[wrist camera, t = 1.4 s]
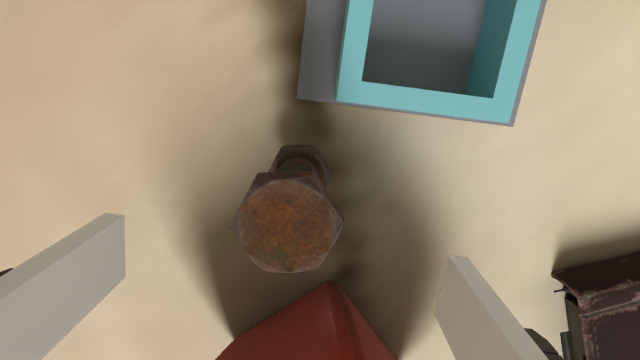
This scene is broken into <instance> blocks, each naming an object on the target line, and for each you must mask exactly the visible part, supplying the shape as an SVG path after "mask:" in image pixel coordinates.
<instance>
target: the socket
mask: <svg viewBox="0 0 640 360" xmlns="http://www.w3.org/2000/svg"><path fill="white" fill-rule="evenodd" d="M546 1H547V0H307V4H306V13H305V22H304V32H303V41H302V50H301V60H300V69H299V78H298V88H297V97H296V99H302V100H310V101H318V102H325V103H333V104H341V105H348V106H356V107H364V108H372V109H379V110H387V111H395V112H402V113H410V114H418V115H425V116H433V117H441V118H449V119H456V120H464V121H472V122H479V123H487V124H495V125H503V126H510V127H513V125H514V121H515V117H516V114H517V110H518V106H519V102H520V99H521V95H522V91H523V87H524V84H525V80H526V76H527V72H528V69H529V65H530V61H531V57H532V54H533V50H534V46H535V42H536V39H537V35H538V31H539V27H540V24H541V20H542V16H543V12H544V9H545V5H546Z"/></svg>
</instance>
